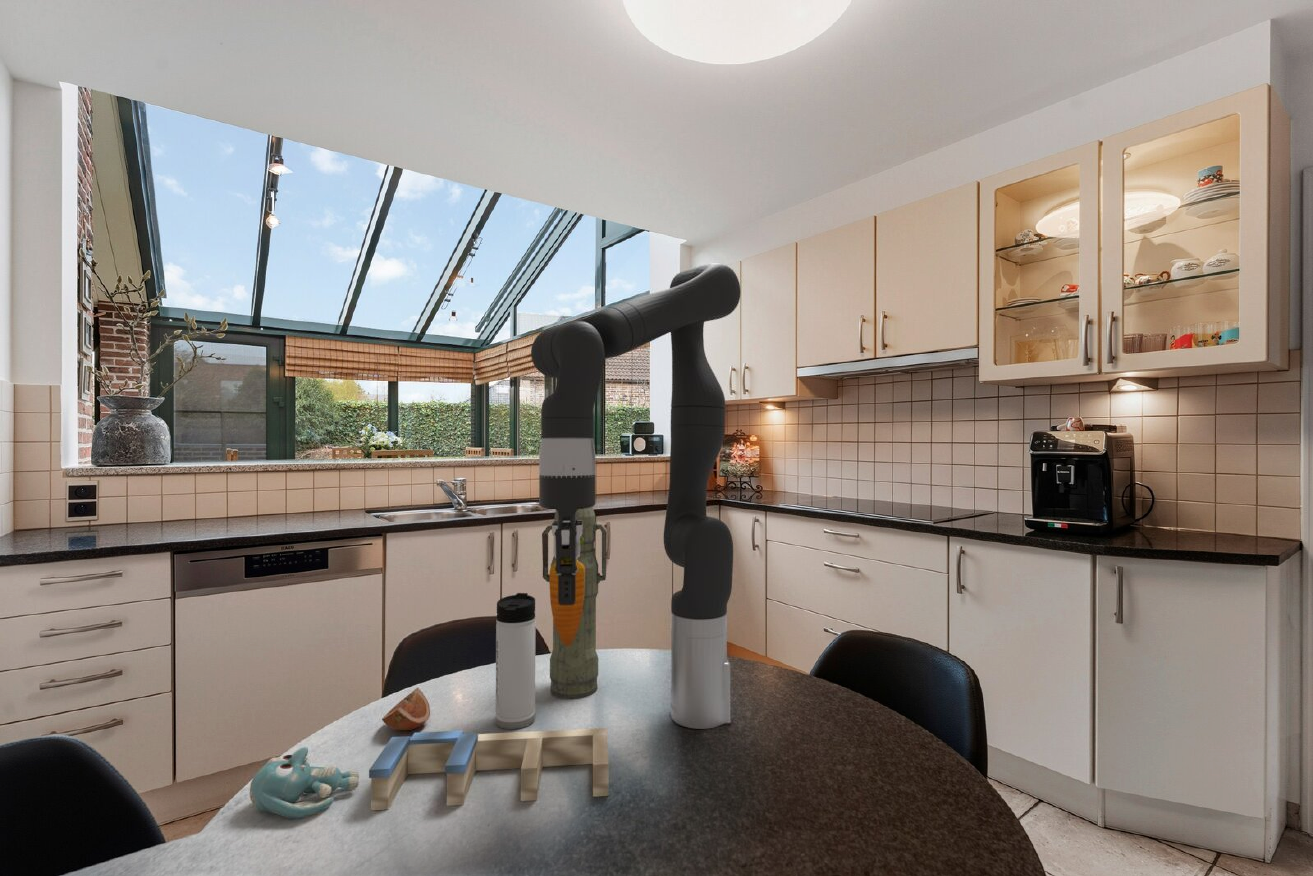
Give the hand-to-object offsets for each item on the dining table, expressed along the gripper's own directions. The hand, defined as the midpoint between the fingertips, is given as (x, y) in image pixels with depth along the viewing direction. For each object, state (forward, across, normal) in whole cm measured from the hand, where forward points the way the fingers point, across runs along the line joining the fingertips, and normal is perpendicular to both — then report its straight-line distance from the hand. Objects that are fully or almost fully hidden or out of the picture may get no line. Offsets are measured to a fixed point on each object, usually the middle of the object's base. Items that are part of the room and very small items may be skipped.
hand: (567, 598), depth 80 cm
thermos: (+24, +31, 0) cm, 39 cm away
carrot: (+7, 0, 0) cm, 7 cm away
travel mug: (+24, +19, +9) cm, 32 cm away
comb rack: (+24, 0, +9) cm, 26 cm away
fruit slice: (+24, +18, +26) cm, 40 cm away
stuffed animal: (+24, -1, +33) cm, 41 cm away
